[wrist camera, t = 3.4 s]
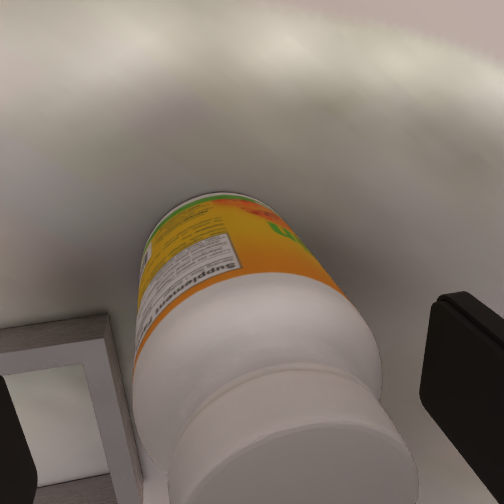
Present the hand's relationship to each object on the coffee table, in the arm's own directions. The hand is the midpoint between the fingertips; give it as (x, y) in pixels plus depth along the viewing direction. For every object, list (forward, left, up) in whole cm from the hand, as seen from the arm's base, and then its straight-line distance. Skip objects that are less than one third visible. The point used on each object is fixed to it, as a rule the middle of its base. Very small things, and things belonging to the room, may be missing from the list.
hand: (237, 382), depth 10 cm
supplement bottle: (0, 0, -7) cm, 7 cm away
